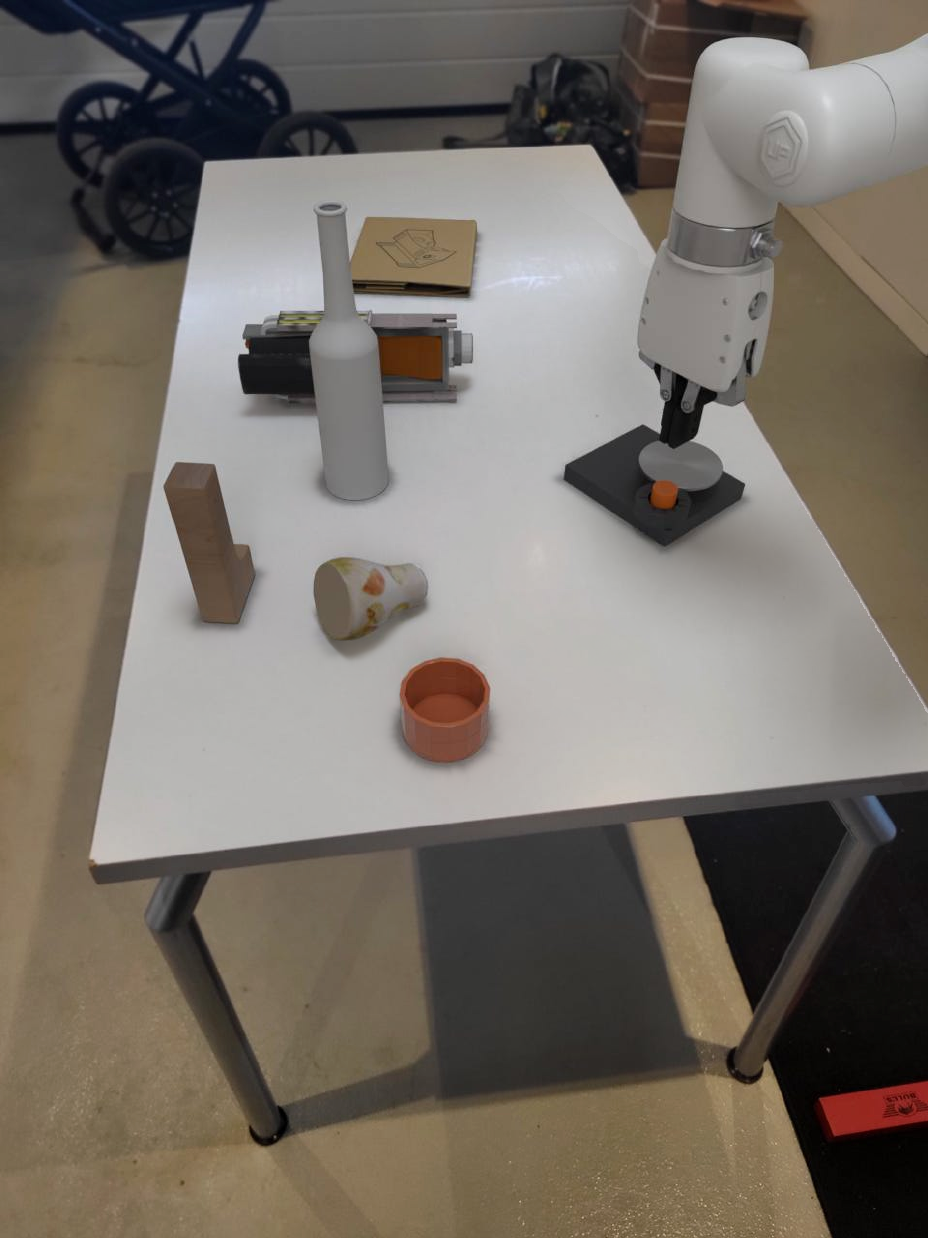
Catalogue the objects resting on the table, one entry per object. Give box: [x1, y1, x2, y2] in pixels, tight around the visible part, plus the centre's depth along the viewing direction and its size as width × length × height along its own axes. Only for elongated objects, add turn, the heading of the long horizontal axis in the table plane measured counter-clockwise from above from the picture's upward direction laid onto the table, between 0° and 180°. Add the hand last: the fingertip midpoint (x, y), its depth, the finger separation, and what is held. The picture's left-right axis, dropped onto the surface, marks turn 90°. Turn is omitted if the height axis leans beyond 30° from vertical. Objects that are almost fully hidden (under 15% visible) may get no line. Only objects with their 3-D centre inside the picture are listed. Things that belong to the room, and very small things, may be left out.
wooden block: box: [162, 461, 256, 624], centre depth 75 cm, size 7×3×15 cm, turn 176°
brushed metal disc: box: [638, 440, 724, 491], centre depth 89 cm, size 8×8×1 cm
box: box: [350, 216, 478, 298], centre depth 129 cm, size 21×18×2 cm
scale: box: [563, 423, 746, 547], centre depth 91 cm, size 14×13×4 cm
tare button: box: [650, 480, 678, 509], centre depth 85 cm, size 2×2×2 cm
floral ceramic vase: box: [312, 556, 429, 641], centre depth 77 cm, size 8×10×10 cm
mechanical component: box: [237, 309, 474, 404], centre depth 100 cm, size 9×26×10 cm, turn 91°
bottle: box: [309, 199, 389, 501], centre depth 83 cm, size 7×7×28 cm
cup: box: [399, 656, 491, 763], centre depth 69 cm, size 7×7×4 cm
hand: (677, 439), depth 80 cm, fingers closed
